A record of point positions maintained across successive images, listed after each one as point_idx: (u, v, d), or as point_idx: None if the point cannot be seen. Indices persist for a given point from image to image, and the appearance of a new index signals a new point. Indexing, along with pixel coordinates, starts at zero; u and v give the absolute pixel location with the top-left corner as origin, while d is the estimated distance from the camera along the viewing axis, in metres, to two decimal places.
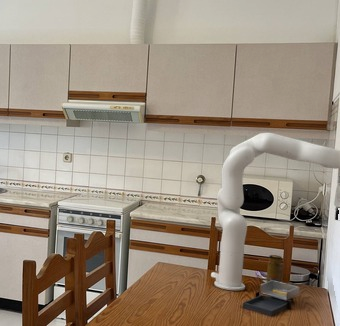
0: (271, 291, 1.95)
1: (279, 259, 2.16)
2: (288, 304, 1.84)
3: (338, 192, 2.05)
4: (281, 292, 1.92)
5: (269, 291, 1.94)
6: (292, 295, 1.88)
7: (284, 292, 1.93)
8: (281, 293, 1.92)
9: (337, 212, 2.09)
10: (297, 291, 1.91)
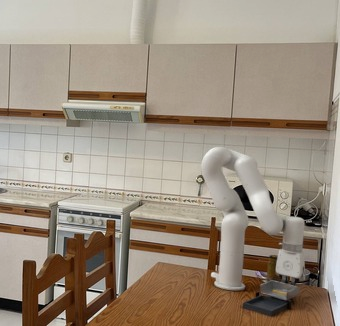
0: (271, 291, 1.95)
1: None
2: (288, 304, 1.84)
3: (285, 260, 1.98)
4: (281, 292, 1.92)
5: (269, 291, 1.94)
6: (292, 295, 1.88)
7: (284, 292, 1.93)
8: (281, 293, 1.92)
9: None
10: (297, 291, 1.91)
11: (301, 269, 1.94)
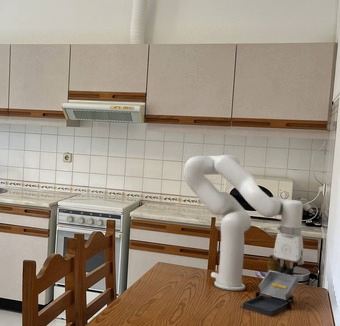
0: (270, 286, 1.94)
1: None
2: (288, 304, 1.84)
3: (283, 243, 1.95)
4: (280, 286, 1.91)
5: (268, 287, 1.94)
6: (291, 291, 1.87)
7: None
8: (280, 287, 1.91)
9: (284, 268, 1.96)
10: (296, 282, 1.90)
11: (299, 252, 1.92)
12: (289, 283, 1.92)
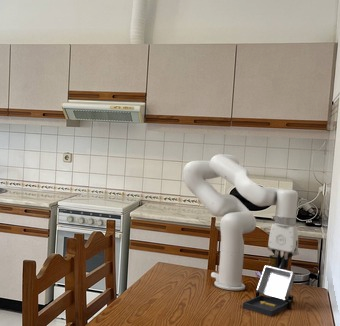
0: (269, 283, 1.92)
1: None
2: (288, 304, 1.84)
3: (278, 234, 1.91)
4: None
5: (267, 284, 1.93)
6: (289, 289, 1.86)
7: (271, 305, 1.86)
8: None
9: (278, 259, 1.92)
10: (293, 277, 1.87)
11: (294, 243, 1.87)
12: (286, 277, 1.90)
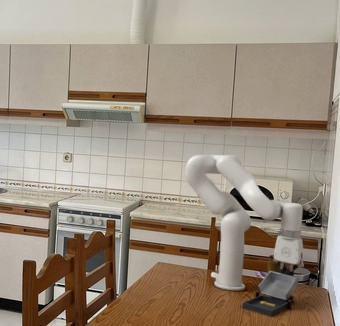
0: (271, 286, 1.94)
1: None
2: (288, 304, 1.84)
3: (283, 246, 1.95)
4: None
5: (268, 287, 1.94)
6: (291, 291, 1.87)
7: (271, 305, 1.86)
8: None
9: (284, 271, 1.97)
10: (296, 283, 1.90)
11: (299, 255, 1.92)
12: (289, 284, 1.93)
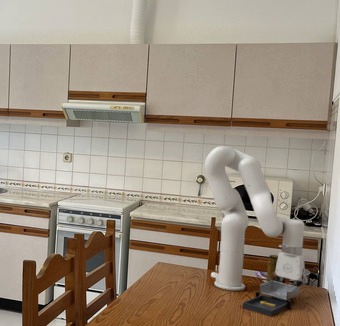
0: (271, 291, 1.95)
1: None
2: (288, 304, 1.84)
3: (285, 262, 1.98)
4: None
5: (269, 291, 1.94)
6: (292, 295, 1.88)
7: (271, 305, 1.86)
8: None
9: None
10: (297, 291, 1.91)
11: (301, 272, 1.94)
12: None
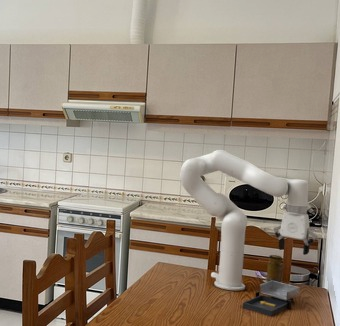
0: (271, 291, 1.95)
1: (279, 259, 2.16)
2: (288, 304, 1.84)
3: (290, 222, 1.98)
4: None
5: (269, 291, 1.94)
6: (292, 295, 1.88)
7: (271, 305, 1.86)
8: None
9: (281, 242, 2.02)
10: (297, 291, 1.91)
11: (306, 230, 1.95)
12: None
